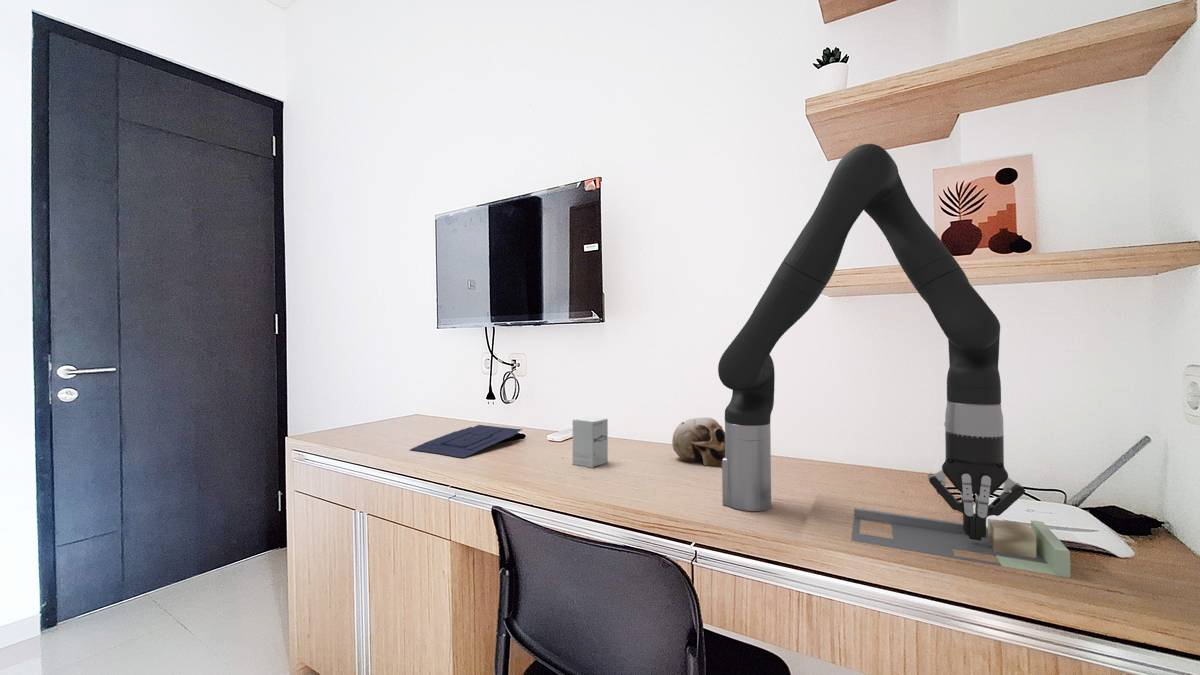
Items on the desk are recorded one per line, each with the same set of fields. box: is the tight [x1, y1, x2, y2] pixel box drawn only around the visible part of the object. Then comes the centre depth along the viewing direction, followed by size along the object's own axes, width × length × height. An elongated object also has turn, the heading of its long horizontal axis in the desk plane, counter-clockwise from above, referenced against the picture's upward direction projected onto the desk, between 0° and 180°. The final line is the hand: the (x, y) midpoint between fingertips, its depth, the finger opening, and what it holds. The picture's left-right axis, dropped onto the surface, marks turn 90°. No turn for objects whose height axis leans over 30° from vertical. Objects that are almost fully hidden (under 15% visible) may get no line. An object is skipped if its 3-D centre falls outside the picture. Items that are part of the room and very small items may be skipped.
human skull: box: [671, 417, 725, 468], centre depth 143 cm, size 16×17×13 cm
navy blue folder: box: [409, 424, 523, 459], centre depth 166 cm, size 24×30×4 cm
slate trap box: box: [850, 507, 1071, 578], centre depth 81 cm, size 27×13×5 cm, turn 61°
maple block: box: [987, 518, 1036, 558], centre depth 78 cm, size 5×5×4 cm
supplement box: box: [572, 416, 609, 469], centre depth 141 cm, size 7×7×13 cm
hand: (974, 538), depth 80 cm, fingers closed
